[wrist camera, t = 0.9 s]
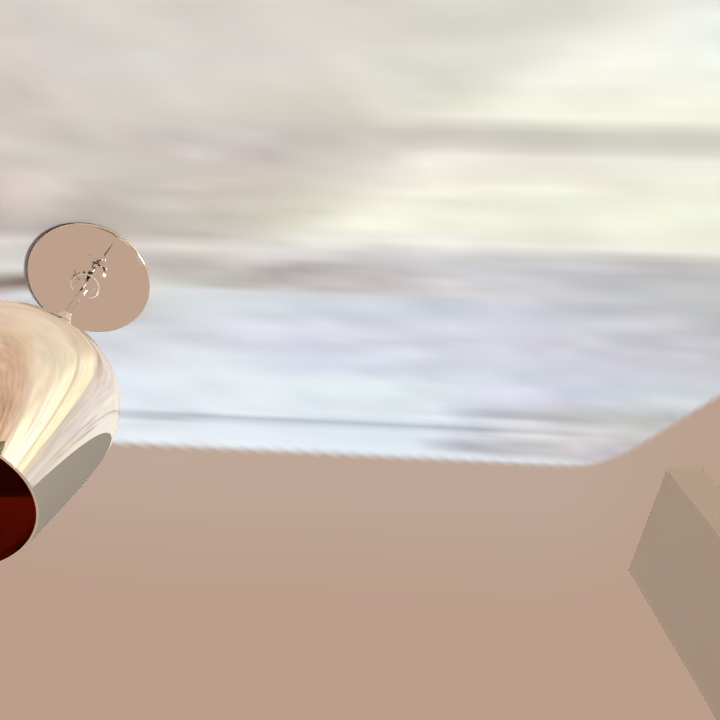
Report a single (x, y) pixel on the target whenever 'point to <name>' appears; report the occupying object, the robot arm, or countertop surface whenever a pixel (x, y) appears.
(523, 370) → the countertop surface
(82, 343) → the wineglass
